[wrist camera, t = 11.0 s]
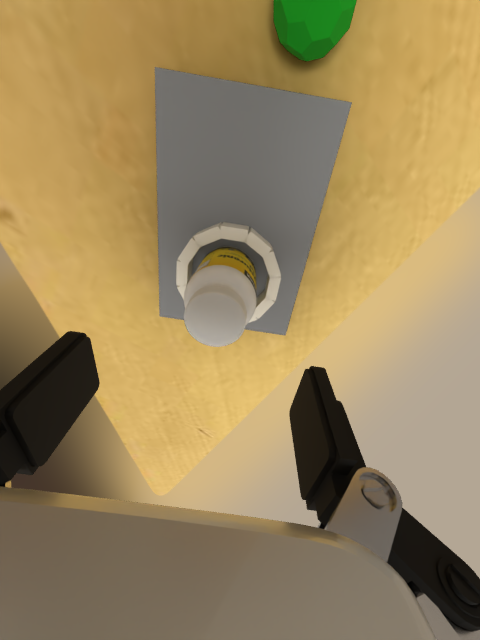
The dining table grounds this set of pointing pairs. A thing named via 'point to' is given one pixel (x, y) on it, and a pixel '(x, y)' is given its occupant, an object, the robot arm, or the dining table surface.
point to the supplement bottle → (220, 297)
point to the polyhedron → (312, 25)
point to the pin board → (241, 183)
